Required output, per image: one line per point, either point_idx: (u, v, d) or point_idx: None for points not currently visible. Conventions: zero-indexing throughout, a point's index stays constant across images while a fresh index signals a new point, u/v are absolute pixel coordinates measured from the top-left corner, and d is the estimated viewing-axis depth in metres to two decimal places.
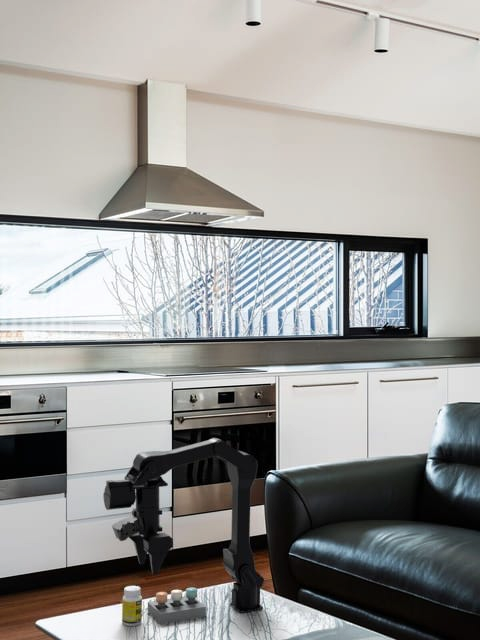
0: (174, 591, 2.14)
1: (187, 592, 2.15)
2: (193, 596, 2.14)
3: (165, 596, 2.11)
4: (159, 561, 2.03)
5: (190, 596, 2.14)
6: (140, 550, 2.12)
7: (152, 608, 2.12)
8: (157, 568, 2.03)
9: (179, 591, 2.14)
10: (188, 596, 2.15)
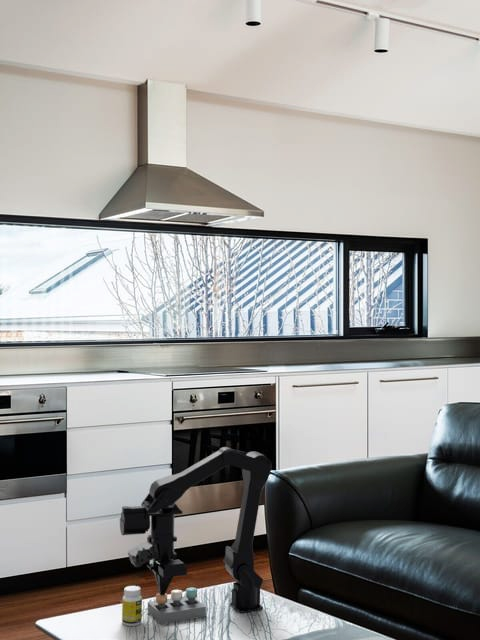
0: (174, 591, 2.14)
1: (187, 592, 2.15)
2: (193, 596, 2.14)
3: (165, 597, 2.11)
4: (167, 582, 2.11)
5: (190, 596, 2.14)
6: None
7: (152, 608, 2.12)
8: (165, 588, 2.12)
9: (179, 591, 2.14)
10: (188, 596, 2.15)
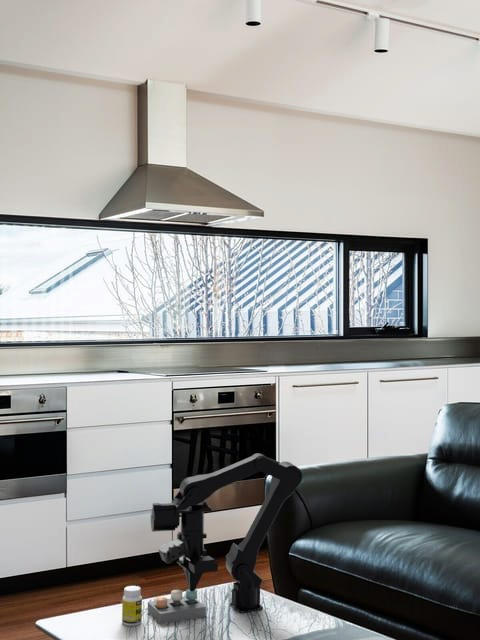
0: (174, 591, 2.14)
1: (187, 593, 2.15)
2: (193, 597, 2.14)
3: (165, 601, 2.11)
4: (197, 578, 2.15)
5: (190, 597, 2.14)
6: None
7: (152, 608, 2.12)
8: (195, 584, 2.15)
9: (179, 591, 2.14)
10: (188, 597, 2.15)
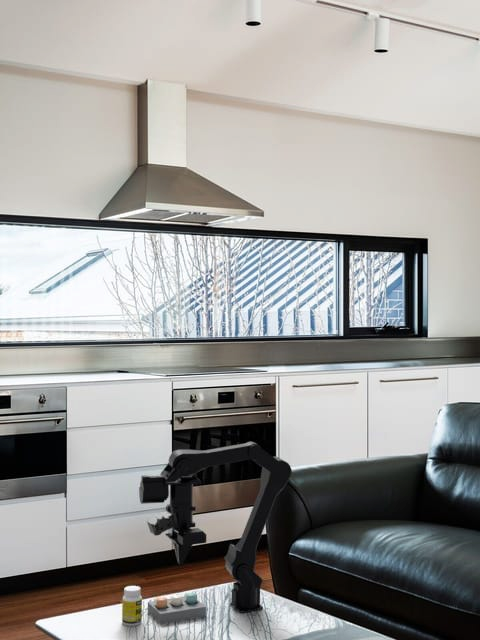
0: (174, 596, 2.14)
1: (187, 597, 2.15)
2: (193, 601, 2.14)
3: (165, 601, 2.11)
4: (185, 551, 2.13)
5: (190, 601, 2.14)
6: None
7: (152, 608, 2.12)
8: (183, 557, 2.14)
9: (179, 596, 2.14)
10: (188, 601, 2.15)
